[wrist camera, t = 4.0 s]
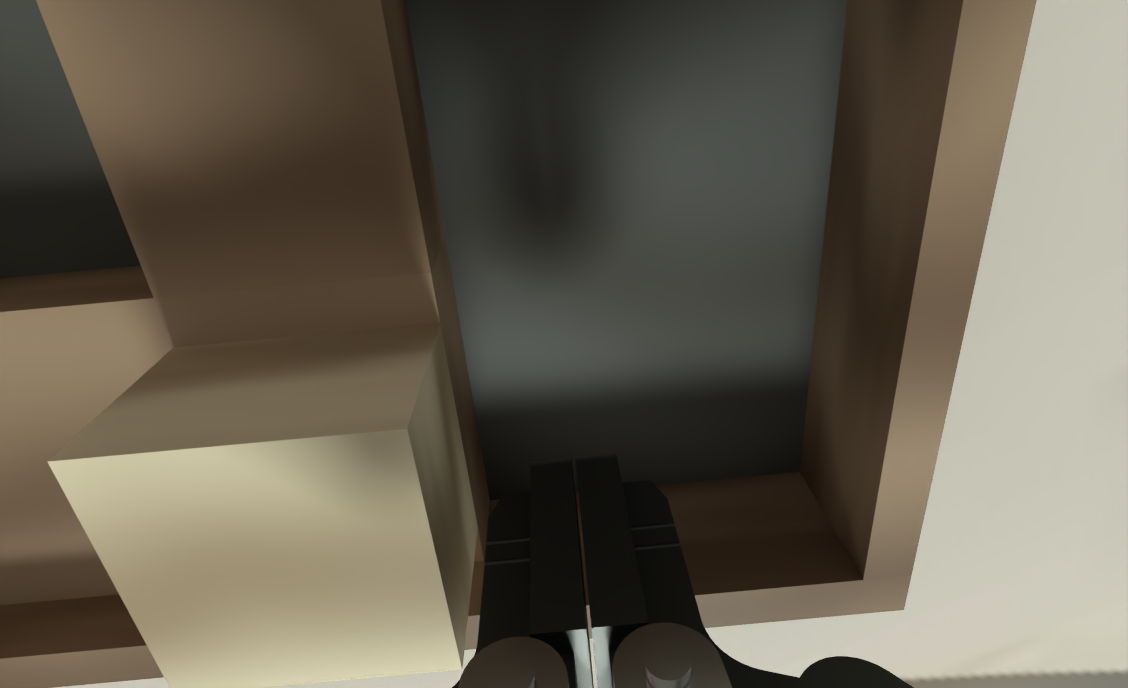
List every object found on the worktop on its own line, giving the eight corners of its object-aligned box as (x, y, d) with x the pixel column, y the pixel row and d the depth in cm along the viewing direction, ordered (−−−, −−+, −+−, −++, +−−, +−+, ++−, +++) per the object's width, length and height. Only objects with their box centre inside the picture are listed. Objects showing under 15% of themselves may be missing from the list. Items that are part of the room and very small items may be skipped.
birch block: (173, 347, 12) (47, 461, 9) (440, 323, 12) (407, 429, 9) (252, 548, 14) (174, 695, 11) (477, 527, 14) (462, 669, 11)
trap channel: (-589, -15, 11) (-1116, -32, 8) (910, -152, 11) (1086, -232, 8) (-133, 576, 17) (-305, 720, 14) (828, 489, 17) (903, 610, 14)
